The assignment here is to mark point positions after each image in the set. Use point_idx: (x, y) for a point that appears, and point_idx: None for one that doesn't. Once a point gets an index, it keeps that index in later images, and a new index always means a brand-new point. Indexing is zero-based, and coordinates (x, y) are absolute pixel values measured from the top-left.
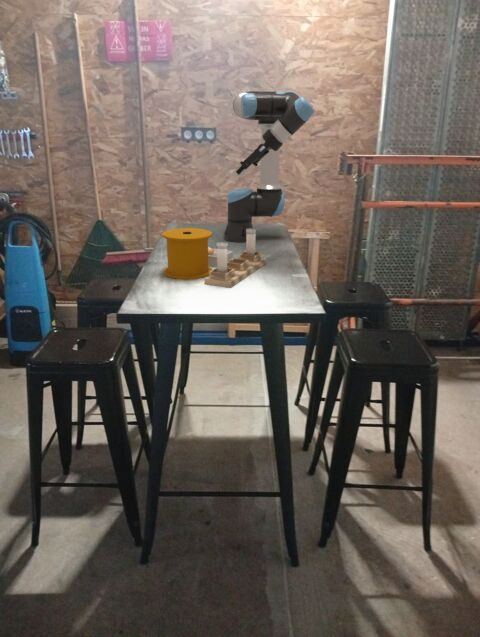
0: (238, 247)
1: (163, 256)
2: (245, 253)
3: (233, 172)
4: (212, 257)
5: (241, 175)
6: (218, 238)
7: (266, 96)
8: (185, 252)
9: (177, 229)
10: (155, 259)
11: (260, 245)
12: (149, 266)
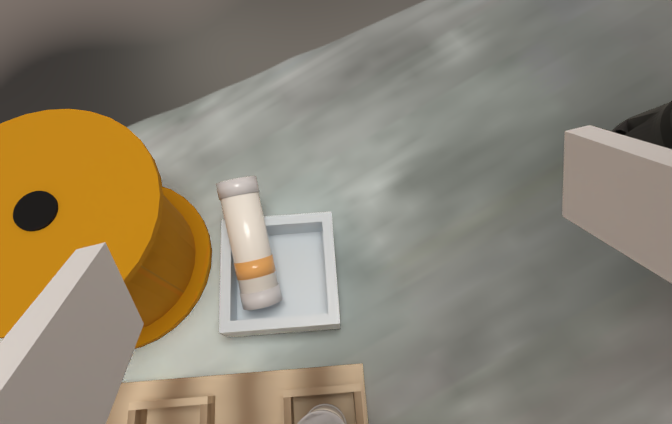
0: (536, 245)
1: (268, 93)
2: (336, 392)
3: (37, 306)
4: (220, 292)
5: (569, 195)
6: (602, 112)
7: None
8: None
9: (103, 132)
10: (224, 93)
11: (631, 310)
12: (143, 122)
